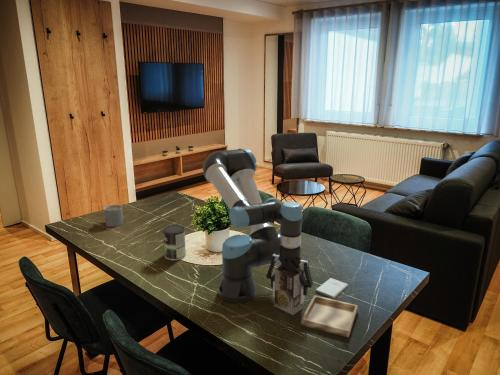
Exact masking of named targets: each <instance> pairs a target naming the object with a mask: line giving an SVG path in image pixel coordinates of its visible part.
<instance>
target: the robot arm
mask: <svg viewBox="0 0 500 375" xmlns="http://www.w3.org/2000/svg"><path fill="white" fill-rule="evenodd" d="M257 167H258V166H257V159H256V157H255V154H254V153H253V151H252V150H250V149H248V148H237V149H228V150H216V151H214V152H211V153H210V154H209V155H208V156H207V157H206V158H205V160H204V161H203V165H202V173H203V176H204V178H205V179H206V181H207V182H208V183H210V184H212V185H213V186H214V188H215V190H216V191H217V193H218V194H219V196H220V197H221V199H222V200H223V201H224V203H225V204H226V206H227V208H228V209H229V212H228V219H229V221H230V225H231V226H232V227H233V228H237V229H239V228H246V227H249V230H250V233H249V235H248V234H235V235H232V236H228V237H227V238H226V239H225V240H224V241H223V243H222V249H221V261H222V277H221V279H220V282H219V286H218V296H219V297H220V298H221V299H222V300H223V301H226V302H229V303H233V304H241V303H245V302H249V301H251V300H253V299H254V298H255V297H256V296H257V286H256V284H255V282H256V281H255V280H254V276H253V268H257V267H262V266H267V265H269V267H268V270H267V273H266V276H265V278H266V279H269V280H270V287H271V288H272V297H273V298H275V272H274V274H273V271H274V270H275V265H276V263H279V262H280V265H279V266H280V267H279V266H278V267H279V268H278V269H282V268H283V267H285V268H289V269H292V270H294V272H297V273H299V272H300V271H301V269H302V268H303V270H304V275H303V274H300V273H299V280H300V282H301V284H302V287H301V301H300V304H302V305H303V304H304V302H305V299H306V297H305V296H307V294H308V290H309V288H310V289H311V288H312V286H313V285H314V282H313V278H312V274H311V270H310V267H309V265H310V264H309V263H310V261H309V259H306V260H304V259H302V257H301V252H302V251H301V250H302V249H301V248H302V246H301V245H302V227H303V216H304V214H303V206H302V204H301V203H299V202H298V201H297V202H296V201H285V202H284V201H282V200H280V199H278V198H276V197H269V198H267V199H266V200H264V202H263V200H262V198H261V197H262V196H261V195H260V192H259V190H258V187H257V183H256V182H255V179H254V178H255V177H254V176H255V175H256V172H257ZM273 222H275V223H277V224H278V225H280V232H279V231H277V229H276V228H277V227H276V226H275V225H272V224H271V223H273ZM300 264H301V266H302V268H301V266H300Z"/></svg>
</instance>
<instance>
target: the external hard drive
mask: <svg viewBox="0 0 500 375" xmlns="http://www.w3.org/2000/svg"><path fill="white" fill-rule="evenodd" d="M348 285H349V284H348V283H346V282H343V281H341V280H337V279H335V278H332V277H329V279H327V280H326V281H325V282H323V283H322V284H321V285H320V286H318V287H317V288H315V293H318V294H320V295H323V296H325V297H327V298H329V299H333V300H335V298H336V297H338V296H339V294H341V293H342V292H343V291H344V290H345V289H346V288H347V287H348Z"/></svg>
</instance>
